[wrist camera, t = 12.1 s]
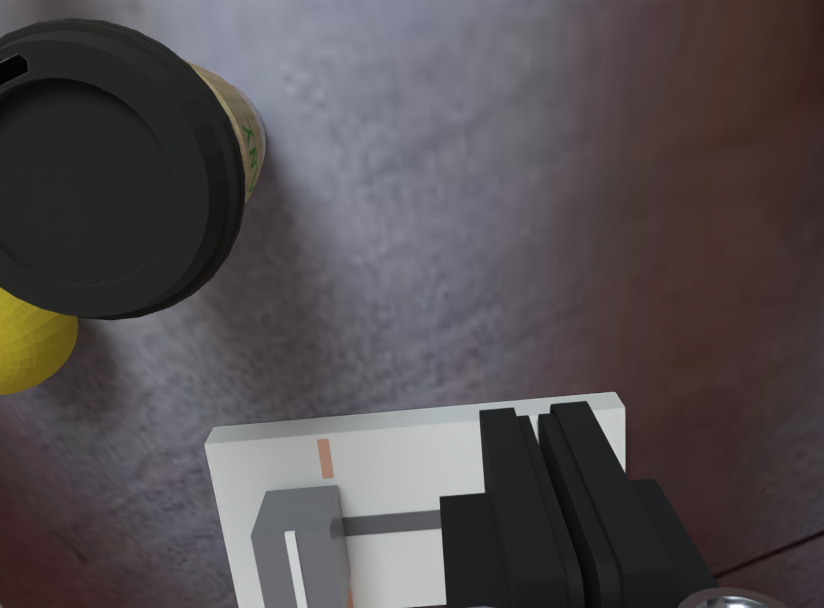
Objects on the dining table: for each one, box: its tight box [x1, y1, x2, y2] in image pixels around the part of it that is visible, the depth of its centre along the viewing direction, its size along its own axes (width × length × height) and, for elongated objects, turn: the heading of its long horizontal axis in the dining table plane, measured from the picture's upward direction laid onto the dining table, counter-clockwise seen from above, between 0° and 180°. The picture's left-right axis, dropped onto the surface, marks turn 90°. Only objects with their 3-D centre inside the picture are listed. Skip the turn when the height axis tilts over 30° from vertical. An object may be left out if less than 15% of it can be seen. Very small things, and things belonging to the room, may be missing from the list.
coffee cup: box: [0, 18, 266, 320], centre depth 29 cm, size 10×10×15 cm
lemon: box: [0, 287, 78, 395], centre depth 35 cm, size 6×6×8 cm
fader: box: [251, 485, 351, 608], centre depth 39 cm, size 4×6×4 cm, turn 6°
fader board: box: [204, 392, 625, 608], centre depth 42 cm, size 23×12×2 cm, turn 96°
